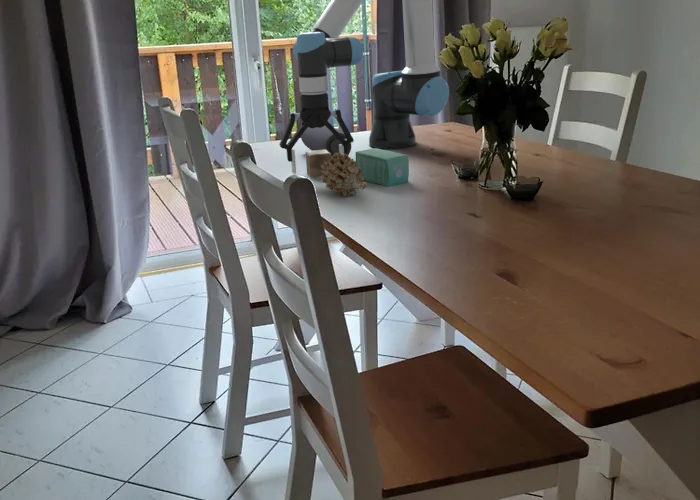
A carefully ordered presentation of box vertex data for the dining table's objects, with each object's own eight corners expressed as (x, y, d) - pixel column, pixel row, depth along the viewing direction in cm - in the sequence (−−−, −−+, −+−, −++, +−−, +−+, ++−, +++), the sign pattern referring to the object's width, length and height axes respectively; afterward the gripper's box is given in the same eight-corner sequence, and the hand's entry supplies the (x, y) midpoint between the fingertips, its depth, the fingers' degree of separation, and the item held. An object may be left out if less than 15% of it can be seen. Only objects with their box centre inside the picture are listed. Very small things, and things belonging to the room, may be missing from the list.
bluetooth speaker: (354, 162, 206) (352, 129, 202) (324, 167, 202) (322, 132, 199) (328, 149, 226) (326, 118, 222) (300, 153, 222) (298, 121, 219)
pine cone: (312, 190, 177) (309, 152, 174) (346, 184, 182) (344, 146, 178) (353, 210, 159) (350, 168, 156) (389, 203, 163) (388, 161, 160)
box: (388, 187, 177) (387, 158, 174) (355, 179, 187) (354, 151, 185) (409, 182, 181) (409, 153, 179) (376, 174, 191) (375, 147, 189)
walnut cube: (327, 170, 198) (326, 149, 196) (332, 175, 192) (330, 153, 190) (307, 173, 197) (305, 151, 194) (310, 177, 191) (309, 155, 189)
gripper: (355, 88, 193) (358, 163, 200) (265, 94, 188) (271, 171, 195) (362, 90, 186) (365, 169, 193) (269, 97, 181) (275, 177, 188)
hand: (318, 170), depth 194 cm, fingers open, 13 cm apart
